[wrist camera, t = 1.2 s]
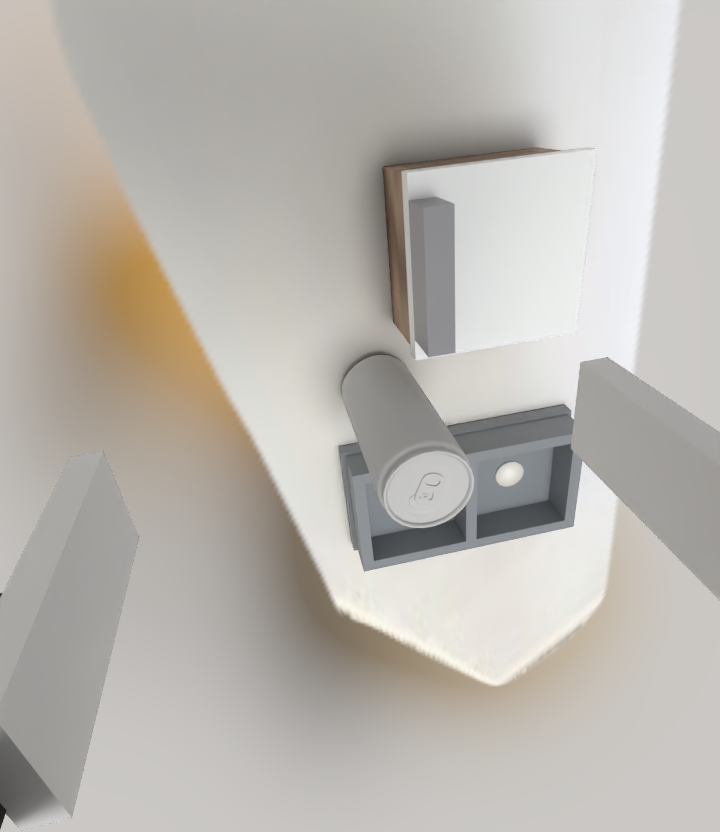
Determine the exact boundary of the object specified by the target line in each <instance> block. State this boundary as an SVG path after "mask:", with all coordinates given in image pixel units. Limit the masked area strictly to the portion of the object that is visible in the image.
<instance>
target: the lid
mask: <svg viewBox="0 0 720 832" xmlns="http://www.w3.org/2000/svg"><path fill="white" fill-rule="evenodd" d="M597 150H598V149H596V148H579V149H571V150H563V151H555V152H547V153H539V154H531V155H523V156H515V157H507V158H499V159H492V160H484V161H476V162H468V163H460V164H452V165H444V166H436V167H428V168H420V169H412V170H404V171H401V172H402V192H403V211H404V231H405V250H406V270H407V289H408V308H409V328H410V347H411V355H412V356H413V358H414V359H415V360H416V361H417V360H423V359H429V358H435V357H441V356H447V355H453V354H459V353H464V352H470V351H476V350H482V349H488V348H494V347H500V346H506V345H512V344H518V343H523V342H529V341H535V340H541V339H547V338H553V337H559V336H565V335H571V334H576V333H577V326H578V317H579V309H580V300H581V291H582V282H583V273H584V264H585V256H586V247H587V238H588V229H589V220H590V211H591V203H592V194H593V185H594V176H595V167H596V158H597Z"/></svg>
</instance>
